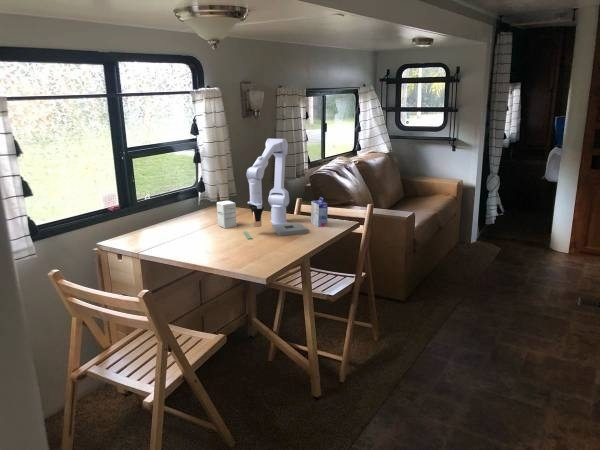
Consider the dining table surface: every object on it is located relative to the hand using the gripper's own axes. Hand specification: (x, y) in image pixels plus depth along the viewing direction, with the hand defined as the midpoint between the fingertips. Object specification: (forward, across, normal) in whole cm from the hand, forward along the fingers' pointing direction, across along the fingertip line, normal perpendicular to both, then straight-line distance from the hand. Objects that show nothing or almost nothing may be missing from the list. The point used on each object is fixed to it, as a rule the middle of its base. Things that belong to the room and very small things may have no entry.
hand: (256, 220), depth 236 cm
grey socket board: (+7, +1, +16) cm, 18 cm away
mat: (+7, 0, 0) cm, 7 cm away
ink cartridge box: (+8, -5, +34) cm, 35 cm away
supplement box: (+8, -21, -11) cm, 25 cm away
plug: (+3, 0, 0) cm, 3 cm away
